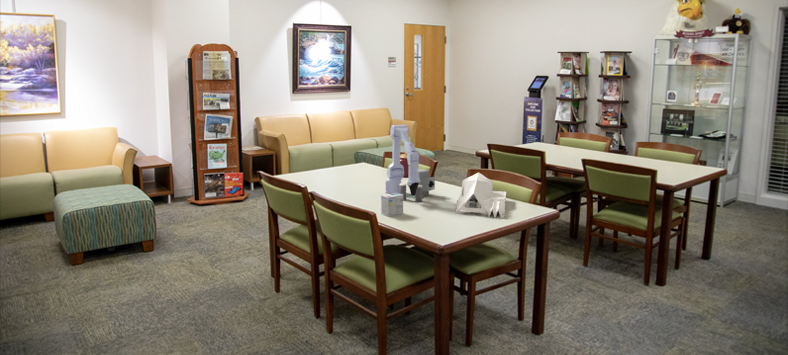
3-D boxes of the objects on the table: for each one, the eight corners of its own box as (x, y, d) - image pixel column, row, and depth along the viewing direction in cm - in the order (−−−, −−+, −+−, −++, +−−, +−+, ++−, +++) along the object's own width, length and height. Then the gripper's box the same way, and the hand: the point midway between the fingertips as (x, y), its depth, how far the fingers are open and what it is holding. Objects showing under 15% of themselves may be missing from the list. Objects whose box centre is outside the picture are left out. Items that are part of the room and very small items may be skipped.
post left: (398, 199, 340) (398, 184, 338) (400, 198, 344) (401, 183, 342) (404, 200, 339) (404, 185, 337) (407, 198, 342) (407, 183, 340)
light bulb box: (396, 211, 315) (396, 192, 312) (403, 213, 309) (403, 194, 307) (380, 214, 308) (380, 194, 306) (388, 217, 303) (388, 197, 301)
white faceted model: (504, 219, 301) (506, 188, 298) (454, 216, 307) (455, 185, 303) (506, 200, 341) (508, 173, 337) (462, 198, 346) (462, 171, 343)
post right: (413, 201, 336) (414, 186, 335) (416, 199, 340) (416, 184, 338) (420, 202, 335) (420, 186, 333) (423, 200, 339) (423, 185, 337)
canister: (395, 174, 416) (395, 150, 412) (412, 173, 419) (412, 150, 415) (399, 178, 403) (400, 153, 400) (417, 177, 406) (417, 152, 403)
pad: (407, 197, 346) (407, 197, 346) (409, 195, 351) (409, 195, 351) (420, 198, 343) (420, 198, 343) (423, 197, 347) (423, 196, 347)
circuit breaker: (429, 197, 345) (429, 173, 342) (411, 194, 355) (411, 170, 352) (436, 195, 351) (437, 171, 348) (418, 192, 360) (419, 168, 357)
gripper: (415, 175, 322) (415, 198, 325) (424, 170, 335) (423, 193, 338) (404, 174, 325) (403, 197, 327) (413, 169, 338) (412, 192, 340)
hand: (413, 195), depth 333 cm, fingers closed
